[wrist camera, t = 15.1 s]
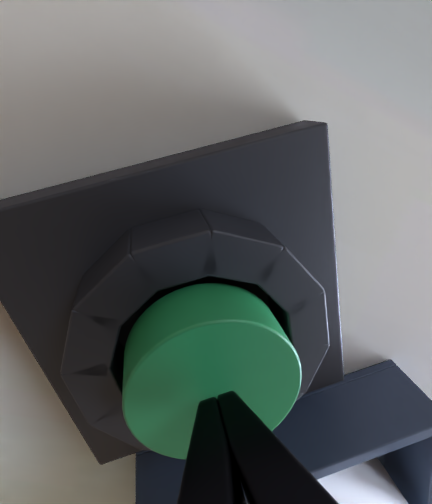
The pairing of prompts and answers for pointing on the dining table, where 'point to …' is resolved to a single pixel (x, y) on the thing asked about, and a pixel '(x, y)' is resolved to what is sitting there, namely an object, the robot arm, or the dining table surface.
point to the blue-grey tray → (336, 435)
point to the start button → (204, 363)
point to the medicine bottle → (363, 485)
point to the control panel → (172, 261)
